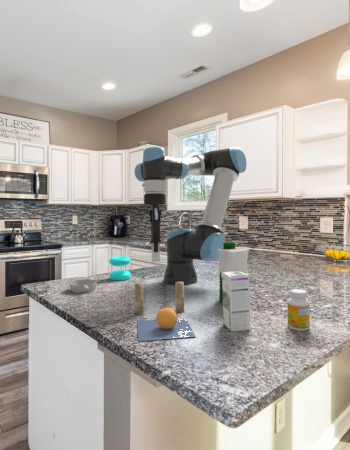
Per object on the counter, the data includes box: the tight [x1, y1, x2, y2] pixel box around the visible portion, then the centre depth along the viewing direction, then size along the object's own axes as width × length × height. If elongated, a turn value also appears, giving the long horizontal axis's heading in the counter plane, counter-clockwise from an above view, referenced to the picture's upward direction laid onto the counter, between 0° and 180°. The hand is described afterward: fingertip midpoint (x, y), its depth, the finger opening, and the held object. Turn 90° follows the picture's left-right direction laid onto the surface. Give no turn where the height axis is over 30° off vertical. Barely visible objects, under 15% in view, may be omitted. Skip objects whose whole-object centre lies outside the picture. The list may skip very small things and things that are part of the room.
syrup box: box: [222, 271, 251, 332], centre depth 82 cm, size 6×6×14 cm
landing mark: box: [137, 319, 197, 343], centre depth 82 cm, size 14×14×1 cm
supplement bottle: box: [287, 288, 311, 332], centre depth 82 cm, size 5×5×10 cm
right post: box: [174, 282, 185, 313], centre depth 97 cm, size 3×3×9 cm
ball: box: [155, 307, 178, 330], centre depth 82 cm, size 6×6×6 cm
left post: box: [134, 282, 145, 316], centre depth 95 cm, size 3×3×9 cm
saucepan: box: [68, 278, 98, 294], centre depth 122 cm, size 11×18×4 cm, turn 23°
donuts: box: [108, 256, 132, 281], centre depth 146 cm, size 10×10×10 cm
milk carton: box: [218, 241, 250, 303], centre depth 106 cm, size 9×9×20 cm
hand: (155, 261), depth 108 cm, fingers closed
